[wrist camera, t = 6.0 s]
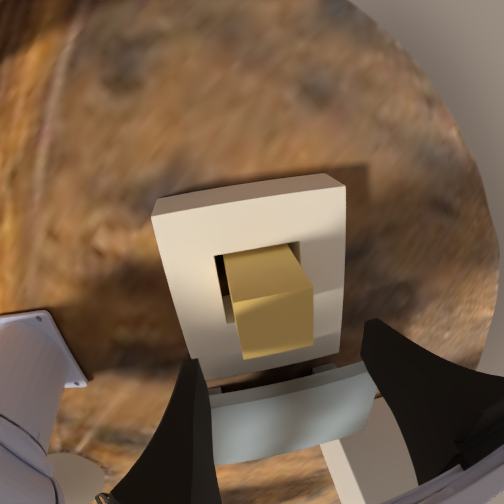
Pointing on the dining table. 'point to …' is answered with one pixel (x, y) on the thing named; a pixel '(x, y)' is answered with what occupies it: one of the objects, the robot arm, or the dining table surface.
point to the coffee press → (102, 497)
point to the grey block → (290, 413)
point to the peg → (270, 300)
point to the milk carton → (371, 460)
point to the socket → (245, 238)
